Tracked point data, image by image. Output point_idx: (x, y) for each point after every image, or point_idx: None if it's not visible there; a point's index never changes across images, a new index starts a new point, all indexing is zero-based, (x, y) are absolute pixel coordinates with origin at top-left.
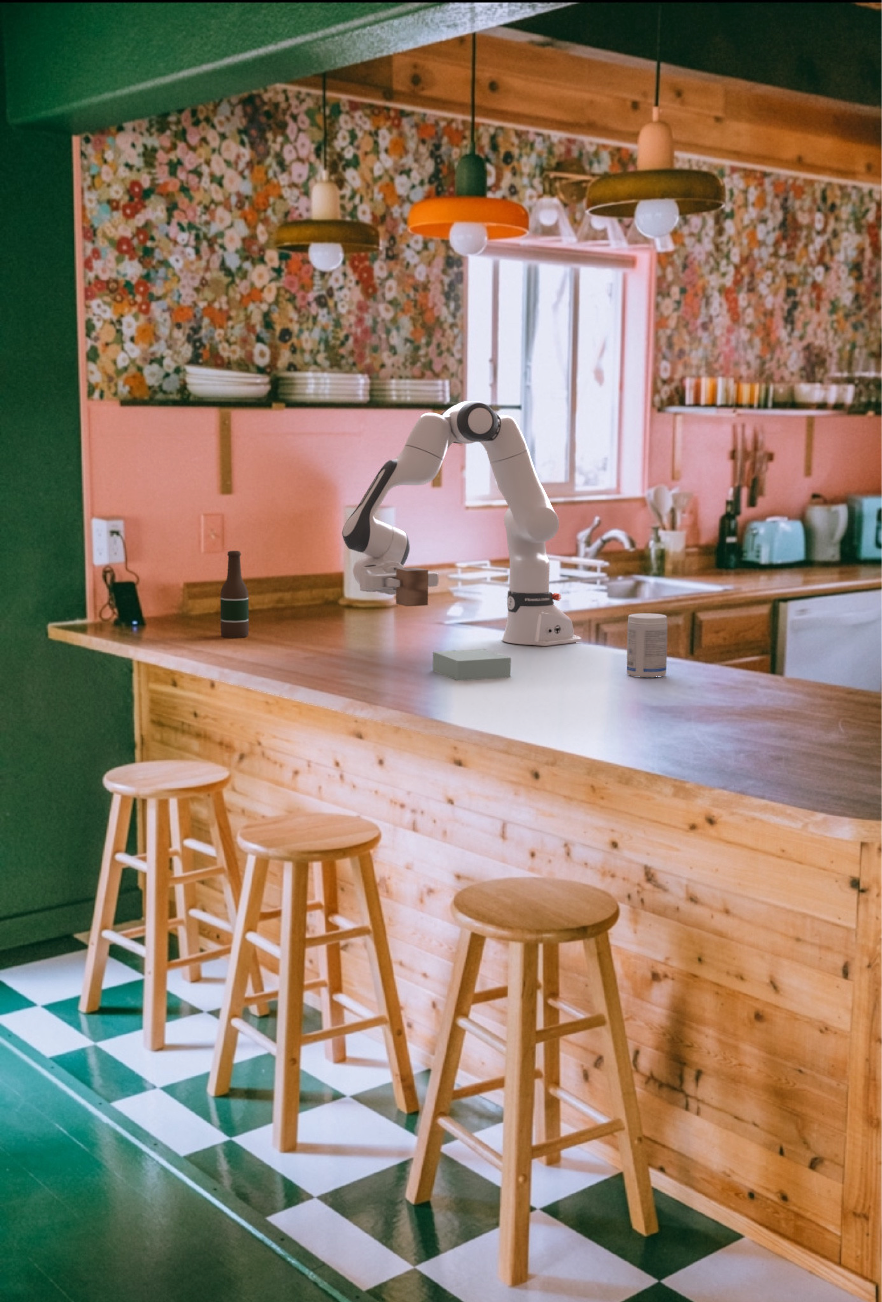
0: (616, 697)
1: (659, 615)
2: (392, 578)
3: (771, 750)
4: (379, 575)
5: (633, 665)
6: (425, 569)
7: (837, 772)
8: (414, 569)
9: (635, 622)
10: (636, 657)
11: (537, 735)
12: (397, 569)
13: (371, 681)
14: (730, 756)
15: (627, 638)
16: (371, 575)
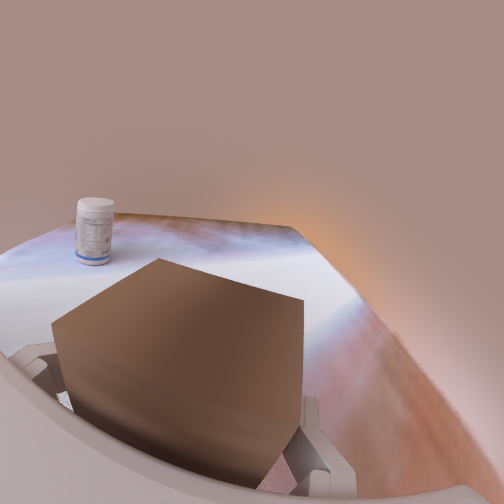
0: (201, 262)
1: (91, 198)
2: (314, 470)
3: (249, 231)
4: (424, 495)
5: (109, 251)
6: (146, 268)
7: (256, 225)
8: (203, 301)
9: (112, 209)
10: (110, 242)
11: (323, 269)
12: (297, 410)
13: (375, 401)
14: (270, 236)
15: (100, 229)
16: (474, 491)
